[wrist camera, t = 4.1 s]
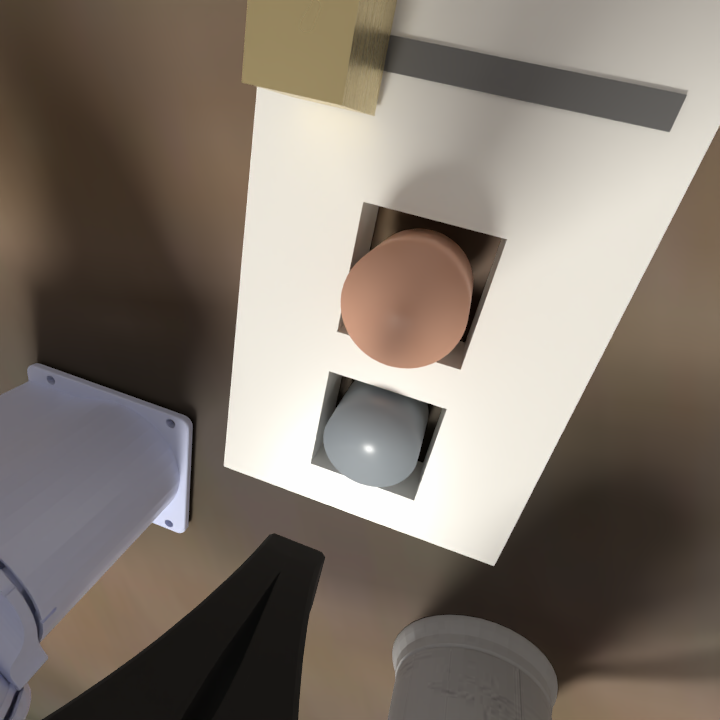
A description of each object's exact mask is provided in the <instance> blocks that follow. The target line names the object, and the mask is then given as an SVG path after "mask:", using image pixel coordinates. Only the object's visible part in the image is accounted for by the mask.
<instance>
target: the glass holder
mask: <svg viewBox="0 0 720 720" xmlns="http://www.w3.org/2000/svg"><path fill="white" fill-rule="evenodd" d="M392 656H393V665H394V669H395V684H394V689H393V695H392V700H391V705H390V710H389V716H388V720H552V717H551V715H552V708H553V706H554V704H555V701H556V698H557V692H558V683H557V676H556V674H555V672H554V669H553V667H552V665H551V664H550V662H549V661H548V659H547V658H546V656H545V655H544V654H543V653H542V652H541V651H540V650H539V649H538V648H537V647H536V646H535V645H533V644H532V643H531V642H530V641H528V640H527V639H526V638H524V637H523V636H521V635H519V634H518V633H516V632H514V631H512V630H511V629H508V628H506V627H504V626H501V625H499V624H497V623H494V622H491V621H487V620H484V619H481V618H475V617H470V616H464V615H436V616H432V617H427V618H423V619H420V620H418V621H415V622H413V623H411V624H410V625H408V626H407V627H405V628H404V629H403V630H402V631H401V632H400V633H399V634H398V636H397V638H396V640H395V642H394V646H393V651H392Z"/></svg>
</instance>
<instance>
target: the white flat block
mask: <svg viewBox="0 0 720 720" xmlns="http://www.w3.org/2000/svg"><path fill="white" fill-rule="evenodd" d="M719 126H720V0H397V3H396V8H395V13H394V19H393V24H392V29H391V34H390V39H389V44H388V49H387V54H386V59H385V65H384V70H383V75H382V80H381V85H380V90H379V95H378V100H377V105H376V110H375V116H372V115H368V114H364V113H359V112H355V111H351V110H346V109H342V108H338V107H333V106H329V105H325V104H320V103H316V102H312V101H307V100H303V99H299V98H294V97H291V96H287V95H284V94H280V93H277V92H273V91H270V90H266V89H263V88H259V87H257V95H256V106H255V117H254V129H253V140H252V151H251V163H250V174H249V186H248V197H247V208H246V220H245V231H244V242H243V254H242V265H241V277H240V288H239V299H238V311H237V322H236V333H235V345H234V356H233V368H232V379H231V390H230V402H229V413H228V424H227V436H226V447H225V458H224V466H225V467H227V468H230V469H233V470H235V471H238V472H241V473H244V474H246V475H249V476H252V477H254V478H257V479H260V480H263V481H265V482H268V483H271V484H273V485H276V486H279V487H281V488H284V489H287V490H290V491H292V492H295V493H298V494H300V495H303V496H306V497H308V498H311V499H314V500H317V501H319V502H322V503H325V504H327V505H330V506H333V507H335V508H338V509H341V510H344V511H346V512H349V513H352V514H354V515H357V516H360V517H362V518H365V519H368V520H371V521H373V522H376V523H379V524H381V525H384V526H387V527H390V528H392V529H395V530H398V531H400V532H403V533H406V534H408V535H411V536H414V537H417V538H419V539H422V540H425V541H427V542H430V543H433V544H435V545H438V546H441V547H444V548H446V549H449V550H452V551H454V552H457V553H460V554H462V555H465V556H468V557H471V558H473V559H476V560H479V561H481V562H484V563H487V564H489V565H492V566H494V565H495V563H496V562H497V560H498V558H499V556H500V554H501V552H502V550H503V548H504V546H505V544H506V542H507V540H508V538H509V536H510V534H511V532H512V530H513V528H514V526H515V524H516V522H517V520H518V519H519V517H520V515H521V513H522V511H523V509H524V507H525V505H526V503H527V501H528V499H529V497H530V495H531V493H532V491H533V489H534V487H535V485H536V483H537V481H538V479H539V477H540V476H541V474H542V472H543V470H544V468H545V466H546V464H547V462H548V460H549V458H550V456H551V454H552V452H553V450H554V448H555V446H556V444H557V442H558V440H559V438H560V436H561V434H562V433H563V431H564V429H565V427H566V425H567V423H568V421H569V419H570V417H571V415H572V413H573V411H574V409H575V407H576V405H577V403H578V401H579V399H580V397H581V395H582V393H583V391H584V390H585V388H586V386H587V384H588V382H589V380H590V378H591V376H592V374H593V372H594V370H595V368H596V366H597V364H598V362H599V360H600V358H601V356H602V354H603V352H604V350H605V348H606V347H607V345H608V343H609V341H610V339H611V337H612V335H613V333H614V331H615V329H616V327H617V325H618V323H619V321H620V319H621V317H622V315H623V313H624V311H625V309H626V307H627V305H628V304H629V302H630V300H631V298H632V296H633V294H634V292H635V290H636V288H637V286H638V284H639V282H640V280H641V278H642V276H643V274H644V272H645V270H646V268H647V266H648V264H649V262H650V261H651V259H652V257H653V255H654V253H655V251H656V249H657V247H658V245H659V243H660V241H661V239H662V237H663V235H664V233H665V231H666V229H667V227H668V225H669V223H670V221H671V219H672V218H673V216H674V214H675V212H676V210H677V208H678V206H679V204H680V202H681V200H682V198H683V196H684V194H685V192H686V190H687V188H688V186H689V184H690V182H691V180H692V178H693V176H694V174H695V173H696V171H697V169H698V167H699V165H700V163H701V161H702V159H703V157H704V155H705V153H706V151H707V149H708V147H709V145H710V143H711V141H712V139H713V137H714V135H715V133H716V131H717V130H718V128H719ZM379 206H381V207H385V208H389V209H393V210H397V211H400V212H404V213H408V214H412V215H416V216H420V217H423V218H427V219H431V220H435V221H439V222H443V223H446V224H450V225H454V226H458V227H462V228H466V229H469V230H473V231H477V232H481V233H485V234H488V235H492V236H496V237H500V238H501V241H500V244H499V247H498V250H497V253H496V256H495V258H494V261H493V264H492V267H491V270H490V273H489V276H488V278H487V281H486V284H485V287H484V290H483V293H482V296H481V298H480V301H479V304H478V307H477V310H476V313H475V316H474V319H473V321H472V324H471V327H470V330H469V333H468V336H467V339H466V341H465V342H462V341H459V343H458V344H457V345H456V346H455V348H454V349H453V350H452V351H451V352H450V353H449V354H448V355H446V356H445V357H443V358H442V359H440V360H439V361H437V362H435V363H433V364H430V365H427V366H424V367H419V368H411V369H407V368H396V367H391V366H387V365H385V364H382V363H380V362H378V361H376V360H374V359H372V358H371V357H369V356H368V355H366V354H365V353H364V352H363V351H362V350H361V349H360V348H359V347H358V346H357V345H356V344H355V343H354V341H353V340H352V339H351V337H350V335H349V334H348V332H347V330H346V328H345V325H344V322H343V319H342V314H341V292H342V288H343V285H344V282H345V280H346V277H347V275H348V274H349V272H350V270H351V269H352V268H353V266H354V265H355V264H356V263H357V262H358V261H359V260H360V259H361V258H362V257H363V256H365V255H366V254H367V253H369V251H370V246H371V241H372V237H373V232H374V228H375V223H376V219H377V214H378V209H379ZM342 375H343V376H346V377H349V378H352V379H355V380H358V381H361V382H364V383H367V384H370V385H374V386H377V387H380V388H383V389H386V390H389V391H392V392H395V393H398V394H401V395H404V396H408V397H411V398H414V399H417V400H420V401H423V402H426V403H429V404H432V405H435V406H438V407H442V410H441V413H440V416H439V419H438V422H437V425H436V427H435V430H434V433H433V436H432V439H431V442H430V445H429V447H428V450H427V453H426V456H425V459H424V462H420V461H417V464H416V466H415V469H414V470H413V472H412V473H411V474H410V475H409V476H408V477H407V478H406V479H405V480H403V481H402V482H400V483H398V484H395V485H392V486H387V487H370V486H365V485H362V484H359V483H357V482H354V481H352V480H350V479H349V478H347V477H346V476H344V475H343V474H342V473H340V472H339V471H338V470H337V469H336V468H335V467H334V465H333V464H332V463H331V461H330V460H329V458H328V456H327V454H326V451H325V448H324V443H323V435H324V430H325V426H326V424H327V422H328V421H329V419H330V417H331V416H332V414H333V413H334V411H335V407H336V402H337V397H338V393H339V388H340V384H341V379H342Z"/></svg>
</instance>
